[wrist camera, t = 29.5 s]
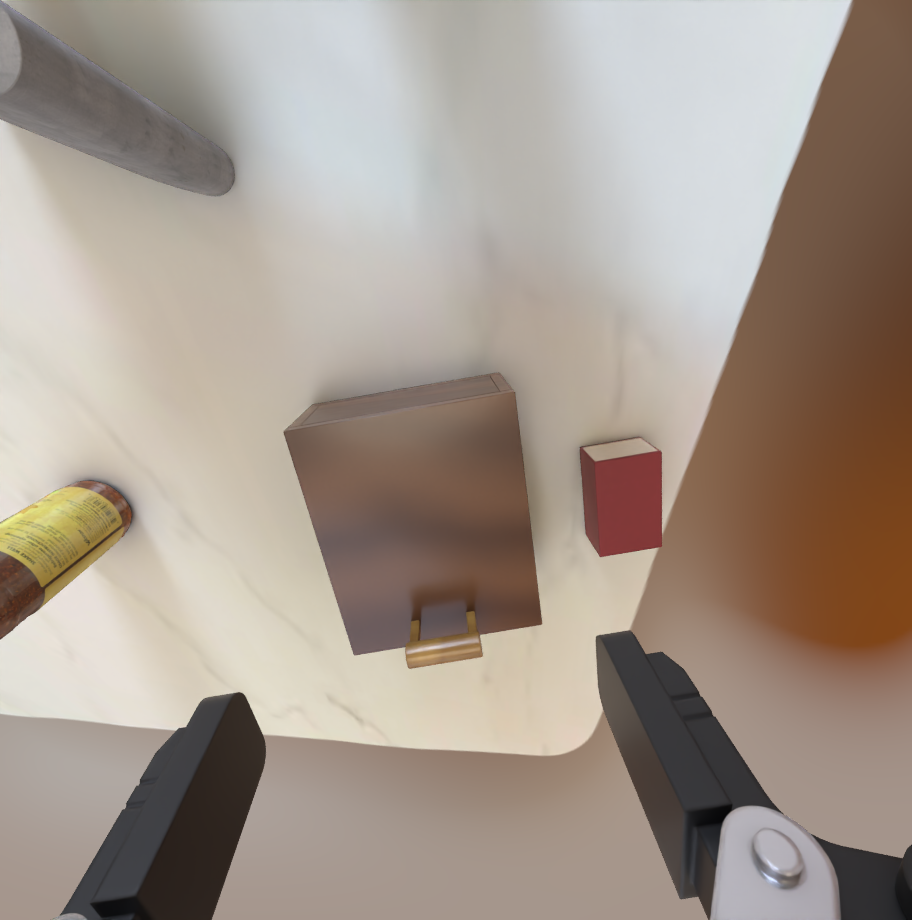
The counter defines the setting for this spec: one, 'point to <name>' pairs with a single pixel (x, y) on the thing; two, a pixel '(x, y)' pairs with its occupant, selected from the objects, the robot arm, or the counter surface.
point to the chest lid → (423, 524)
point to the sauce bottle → (55, 545)
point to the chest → (402, 398)
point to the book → (622, 496)
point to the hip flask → (99, 112)
